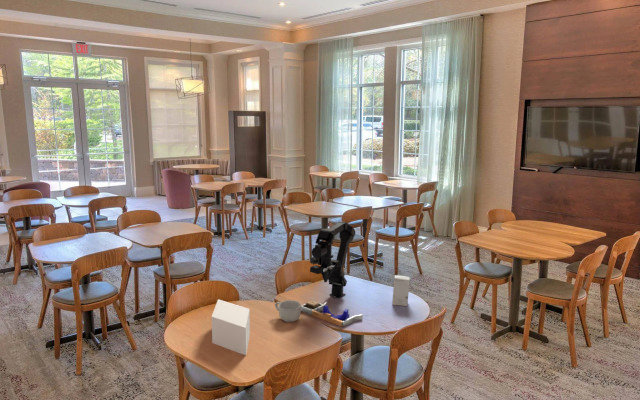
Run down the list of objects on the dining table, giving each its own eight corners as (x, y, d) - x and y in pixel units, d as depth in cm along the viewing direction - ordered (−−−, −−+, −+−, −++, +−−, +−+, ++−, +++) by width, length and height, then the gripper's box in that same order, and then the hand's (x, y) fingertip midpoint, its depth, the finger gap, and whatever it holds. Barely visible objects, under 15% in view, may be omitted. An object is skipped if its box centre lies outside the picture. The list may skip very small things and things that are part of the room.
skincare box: (392, 305, 254) (393, 278, 251) (392, 300, 259) (394, 274, 257) (408, 306, 252) (409, 279, 249) (408, 302, 258) (409, 275, 255)
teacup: (305, 319, 234) (305, 304, 232) (289, 326, 226) (289, 310, 225) (285, 311, 243) (285, 296, 242) (269, 317, 235) (269, 302, 234)
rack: (317, 303, 254) (317, 296, 254) (362, 319, 235) (363, 311, 234) (299, 310, 244) (299, 303, 244) (345, 328, 225) (345, 320, 224)
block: (236, 320, 232) (235, 296, 230) (265, 351, 203) (265, 323, 200) (200, 327, 224) (199, 302, 222) (225, 361, 194) (225, 332, 192)
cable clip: (349, 319, 235) (349, 308, 234) (346, 323, 231) (346, 311, 230) (326, 315, 239) (326, 304, 238) (322, 319, 235) (323, 307, 234)
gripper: (326, 247, 261) (325, 274, 264) (302, 254, 247) (302, 282, 250) (341, 251, 254) (341, 279, 257) (318, 258, 240) (318, 288, 243)
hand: (325, 282), depth 252 cm, fingers closed
